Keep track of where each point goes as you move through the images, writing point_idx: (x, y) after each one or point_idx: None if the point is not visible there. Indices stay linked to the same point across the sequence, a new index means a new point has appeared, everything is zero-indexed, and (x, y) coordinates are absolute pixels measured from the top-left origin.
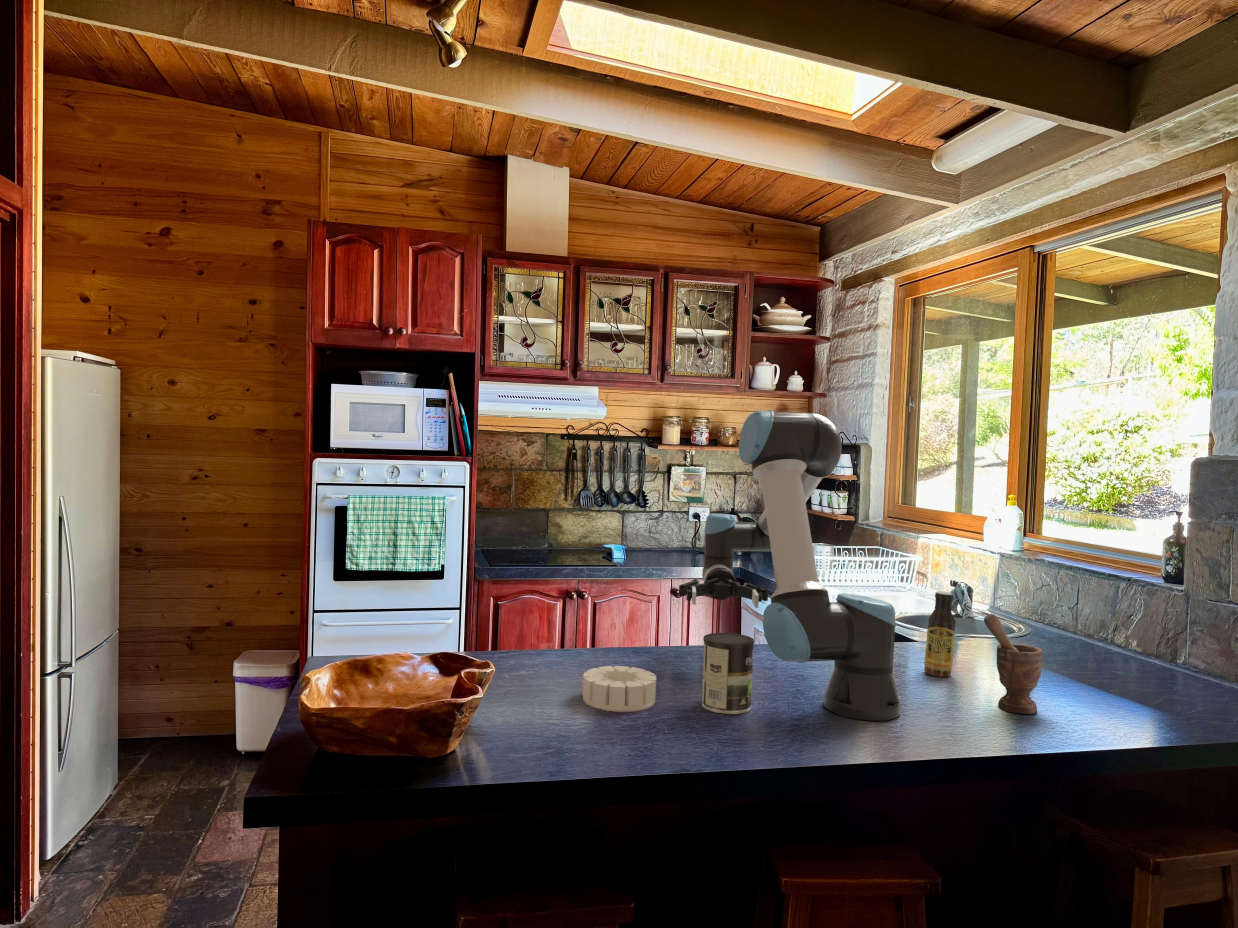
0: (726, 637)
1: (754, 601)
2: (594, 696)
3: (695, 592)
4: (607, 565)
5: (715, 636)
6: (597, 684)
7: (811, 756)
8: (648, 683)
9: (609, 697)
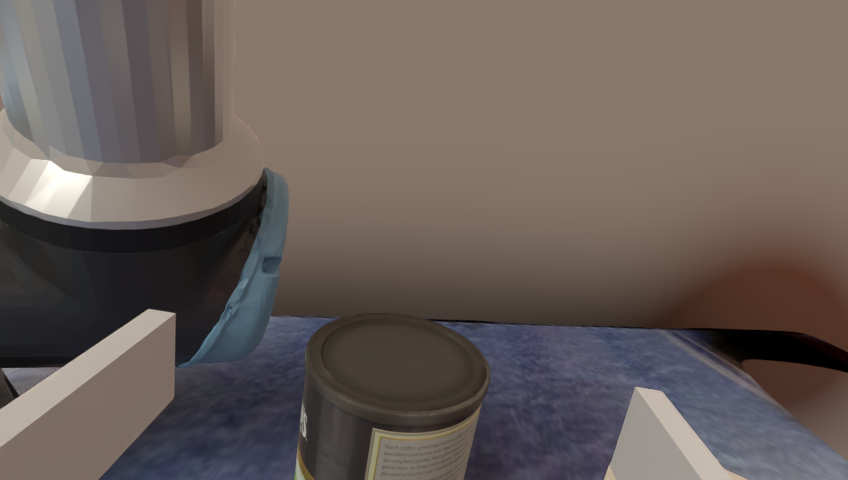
0: (404, 370)
1: (151, 387)
2: None
3: (640, 391)
4: None
5: (445, 380)
6: (730, 473)
7: (287, 332)
8: (609, 473)
9: None
